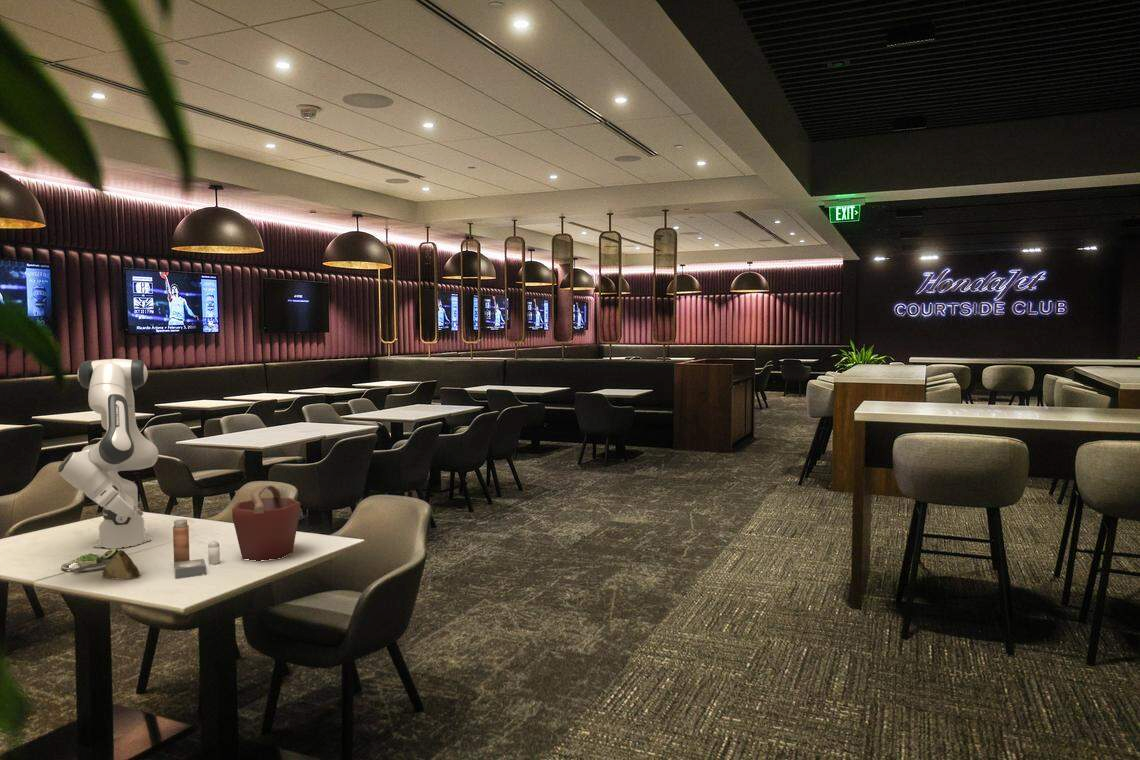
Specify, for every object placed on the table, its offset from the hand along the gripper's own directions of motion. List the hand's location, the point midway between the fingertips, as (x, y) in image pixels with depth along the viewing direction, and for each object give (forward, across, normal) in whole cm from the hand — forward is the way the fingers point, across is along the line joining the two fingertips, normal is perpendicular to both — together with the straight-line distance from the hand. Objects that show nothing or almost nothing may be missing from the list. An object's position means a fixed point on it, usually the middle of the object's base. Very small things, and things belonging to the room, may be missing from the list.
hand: (142, 518), depth 257 cm
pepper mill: (+21, 0, -5) cm, 22 cm away
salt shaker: (+28, +1, +2) cm, 28 cm away
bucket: (+40, -1, +14) cm, 43 cm away
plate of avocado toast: (+3, -18, -24) cm, 30 cm away
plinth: (+22, +9, -4) cm, 24 cm away
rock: (+8, +3, -18) cm, 20 cm away
